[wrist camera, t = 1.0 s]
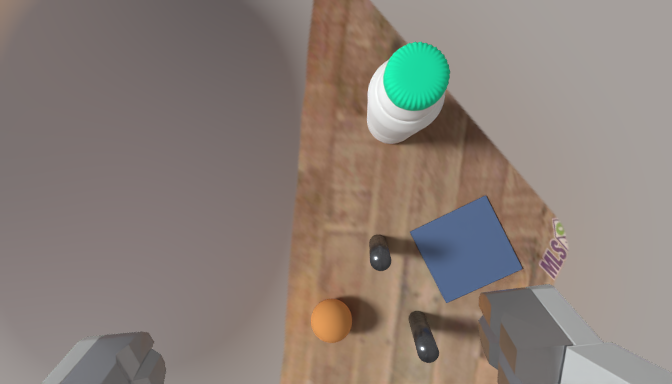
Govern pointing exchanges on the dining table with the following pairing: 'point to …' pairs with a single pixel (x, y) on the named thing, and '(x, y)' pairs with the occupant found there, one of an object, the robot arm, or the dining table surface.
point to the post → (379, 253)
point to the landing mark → (466, 249)
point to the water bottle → (407, 92)
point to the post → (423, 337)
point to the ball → (331, 320)
